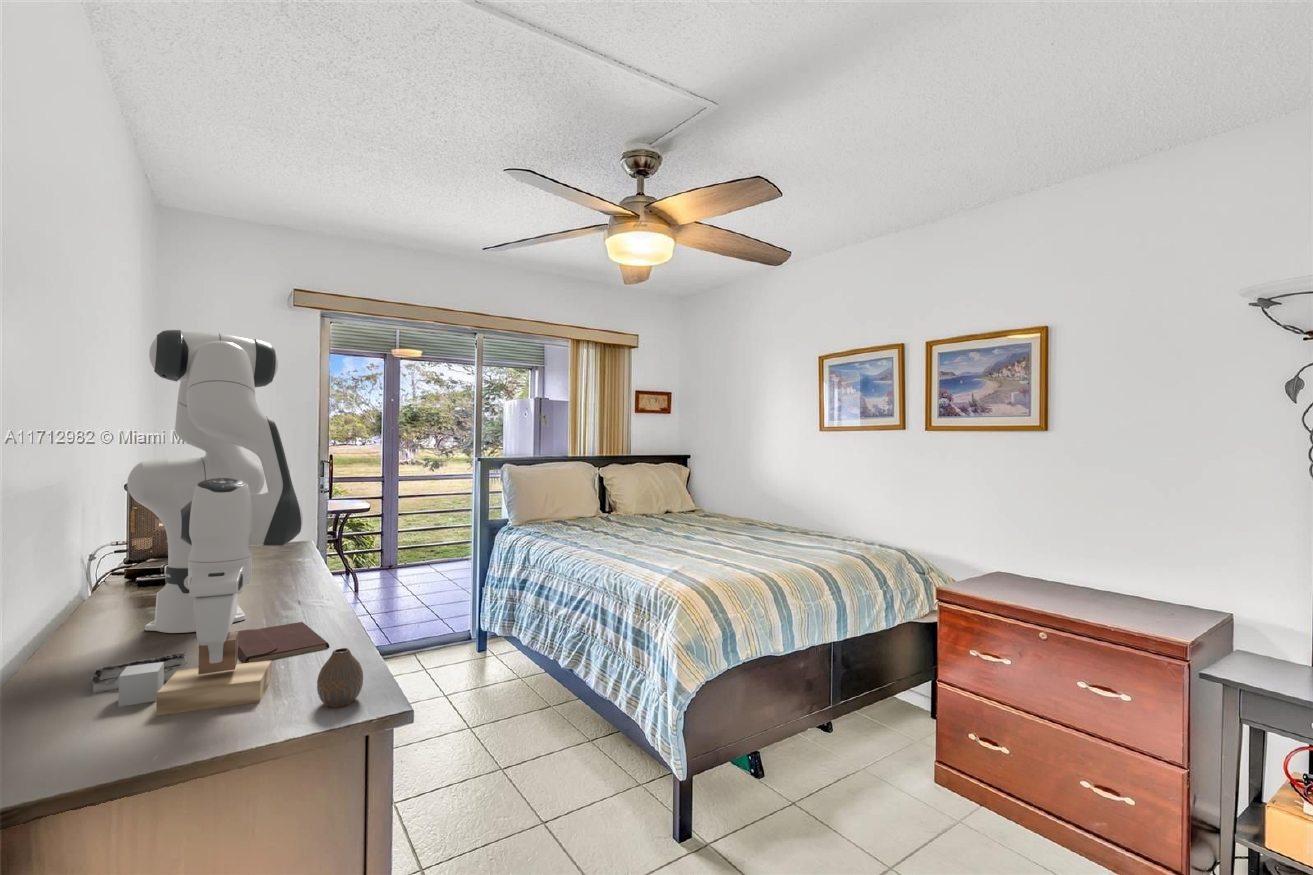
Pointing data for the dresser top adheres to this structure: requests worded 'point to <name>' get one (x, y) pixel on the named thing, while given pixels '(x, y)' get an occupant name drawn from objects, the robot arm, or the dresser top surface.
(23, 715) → the dresser top surface
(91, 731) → the dresser top surface
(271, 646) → the notebook
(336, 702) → the vase
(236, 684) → the oak block
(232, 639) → the walnut cube
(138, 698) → the grey block
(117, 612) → the dresser top surface
